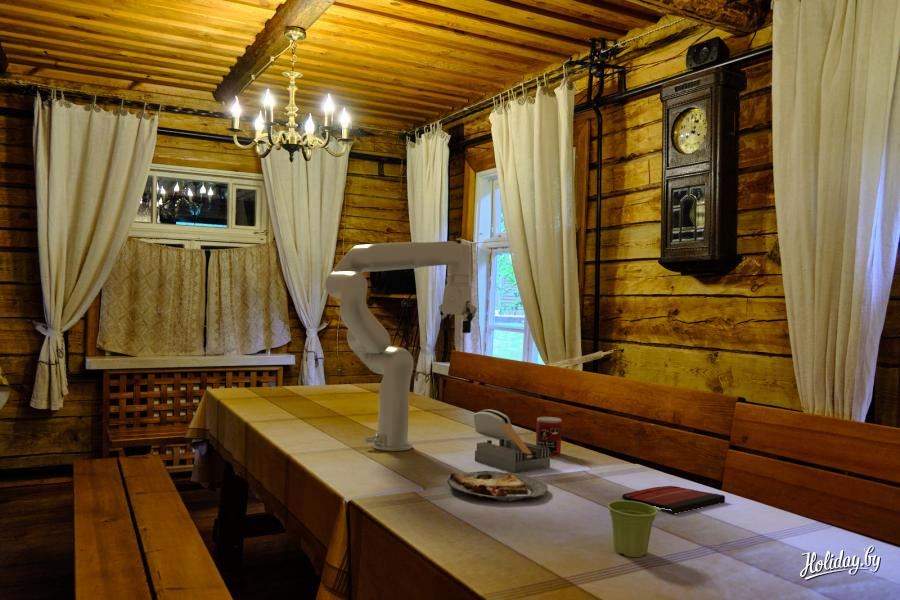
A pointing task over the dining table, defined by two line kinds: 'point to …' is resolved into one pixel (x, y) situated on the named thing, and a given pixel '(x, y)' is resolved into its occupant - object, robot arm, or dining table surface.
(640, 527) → the plant pot
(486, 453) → the heatsink
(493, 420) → the white curved block
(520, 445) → the orange brown flat bar
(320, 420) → the dining table surface
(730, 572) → the dining table surface
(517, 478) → the food plate
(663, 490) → the binder
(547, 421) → the canned food
